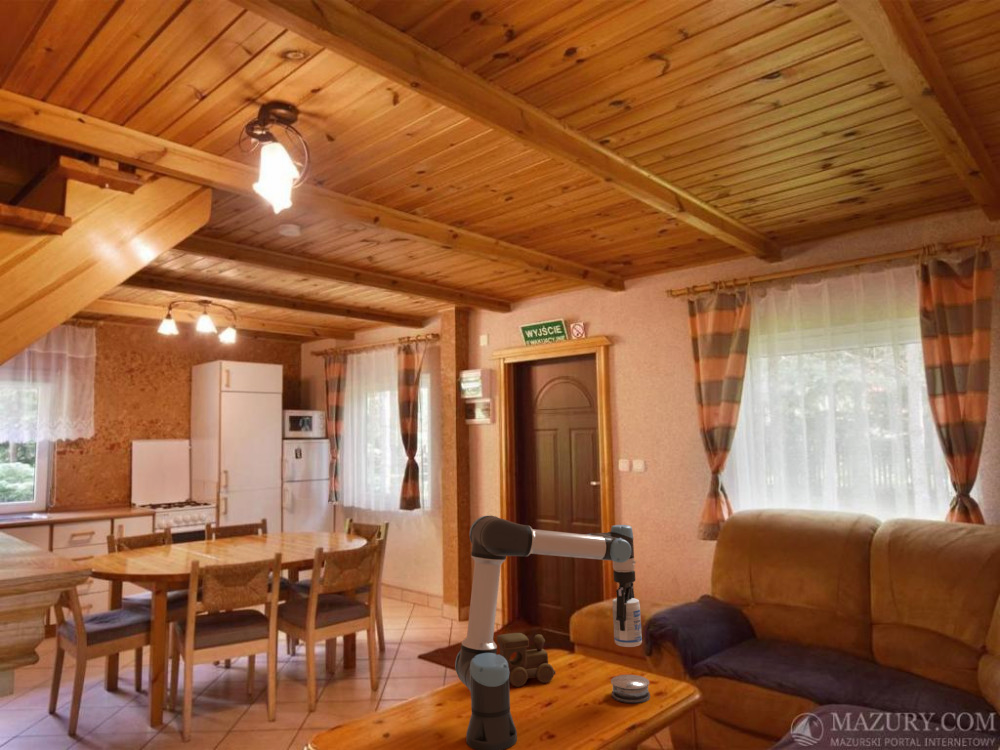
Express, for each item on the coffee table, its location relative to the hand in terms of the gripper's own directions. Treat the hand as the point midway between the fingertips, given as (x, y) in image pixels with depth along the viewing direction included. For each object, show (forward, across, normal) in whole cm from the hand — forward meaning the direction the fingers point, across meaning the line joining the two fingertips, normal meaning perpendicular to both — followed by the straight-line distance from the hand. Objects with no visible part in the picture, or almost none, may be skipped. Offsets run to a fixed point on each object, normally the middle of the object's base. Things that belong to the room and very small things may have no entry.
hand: (627, 635), depth 229 cm
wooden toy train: (+20, +1, +40) cm, 45 cm away
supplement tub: (+3, 0, 0) cm, 3 cm away
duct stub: (+20, 0, 0) cm, 20 cm away
